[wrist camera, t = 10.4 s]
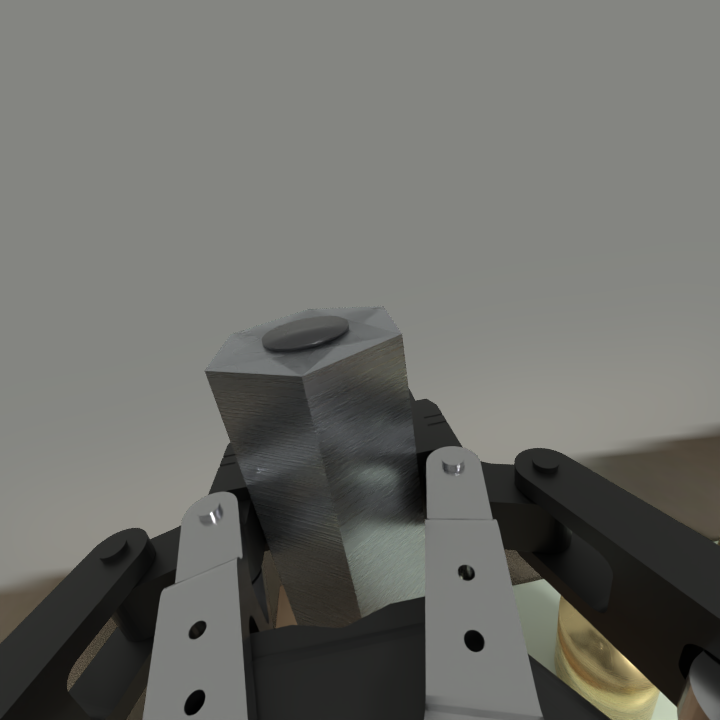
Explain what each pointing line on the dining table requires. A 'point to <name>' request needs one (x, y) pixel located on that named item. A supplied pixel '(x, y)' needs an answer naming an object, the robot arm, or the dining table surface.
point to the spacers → (600, 669)
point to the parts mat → (541, 627)
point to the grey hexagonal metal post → (328, 457)
